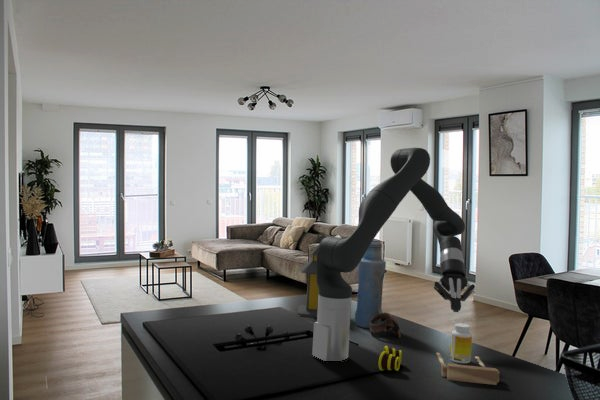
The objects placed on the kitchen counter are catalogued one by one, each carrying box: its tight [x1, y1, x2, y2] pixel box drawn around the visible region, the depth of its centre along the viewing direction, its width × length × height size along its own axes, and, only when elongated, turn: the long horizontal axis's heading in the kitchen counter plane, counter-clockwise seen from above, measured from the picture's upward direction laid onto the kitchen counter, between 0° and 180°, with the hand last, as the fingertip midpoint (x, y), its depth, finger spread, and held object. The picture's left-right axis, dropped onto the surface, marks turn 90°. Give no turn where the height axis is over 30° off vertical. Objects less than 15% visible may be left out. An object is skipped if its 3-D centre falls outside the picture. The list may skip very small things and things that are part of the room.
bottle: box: [354, 239, 387, 329], centre depth 178 cm, size 10×10×30 cm
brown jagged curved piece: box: [369, 312, 402, 339], centre depth 168 cm, size 12×10×8 cm
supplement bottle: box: [449, 322, 473, 365], centre depth 145 cm, size 6×6×10 cm
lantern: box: [297, 232, 325, 318], centre depth 193 cm, size 14×14×30 cm
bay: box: [435, 352, 501, 386], centre depth 139 cm, size 22×14×4 cm, turn 172°
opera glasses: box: [377, 345, 403, 372], centre depth 136 cm, size 10×5×5 cm, turn 163°
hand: (456, 310), depth 155 cm, fingers closed
